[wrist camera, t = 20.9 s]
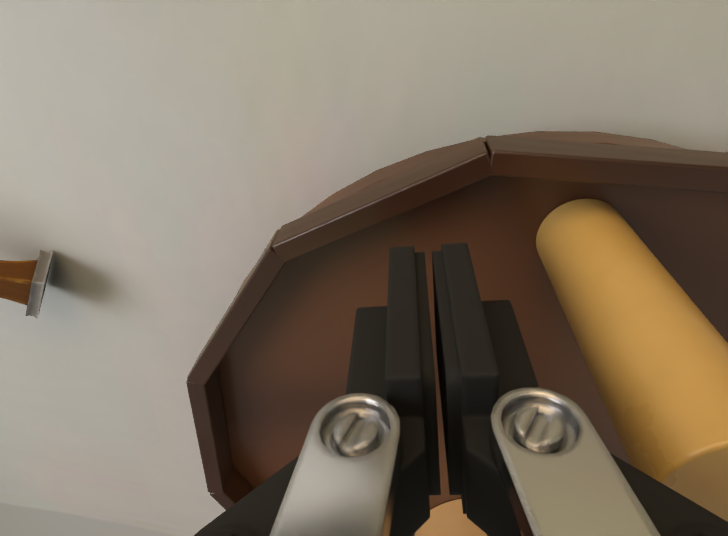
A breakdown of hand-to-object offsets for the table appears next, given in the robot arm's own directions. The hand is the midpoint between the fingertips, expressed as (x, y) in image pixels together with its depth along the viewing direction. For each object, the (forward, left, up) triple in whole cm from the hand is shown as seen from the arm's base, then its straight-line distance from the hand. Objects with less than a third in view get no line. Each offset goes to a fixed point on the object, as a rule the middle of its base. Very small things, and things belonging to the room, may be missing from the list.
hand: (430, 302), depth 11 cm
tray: (-4, +8, -4) cm, 10 cm away
